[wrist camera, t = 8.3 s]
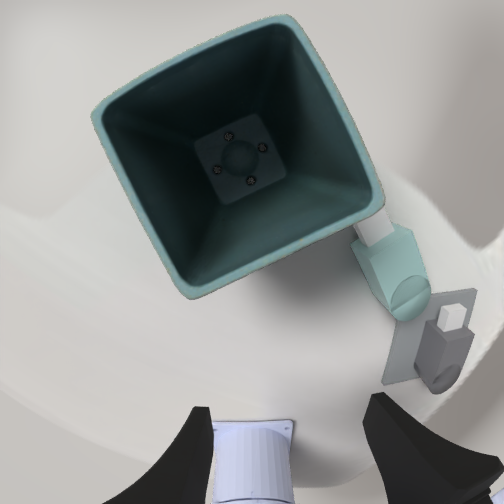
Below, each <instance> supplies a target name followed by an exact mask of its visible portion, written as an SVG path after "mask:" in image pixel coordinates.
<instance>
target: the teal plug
mask: <svg viewBox="0 0 504 504" xmlns="http://www.w3.org/2000/svg"><path fill="white" fill-rule="evenodd" d="M353 226H354V228H355V230H356V232H357V235H358V237H359V239H357V240H355V241H354V242H352V243H351V244H350V246H351V248H352V250H353V252H354V254H355V256H356V258H357V260H358V263H359V265H360V267H361V269H362V271H363V273H364V275H365V278H366V280H367V282H368V284H369V286H370V289H371V291H372V293H373V295H374V296H375V297H376V298H377V299H378V300H379V301H380V302H381V303H382V304H383V305H384V306H385V308H386V309H387V310H388V311H389V312H390V313H391V314H392V315H393V316H394V317H395V318H396V319H397V320H399V321H410V320H412V319H415V318H416V317H418V316H419V315H420V314H421V313H422V312H423V311H424V310H425V308H426V307H427V305H428V303H429V300H430V296H431V287H430V283H429V280H428V276H427V273H426V270H425V267H424V264H423V260H422V257H421V254H420V251H419V249H418V246H417V243H416V240H415V237H414V234H413V232H412V230H409V229H407V228H405V227H402V226H400V225H397V224H395V223H392V222H391V221H390V218H389V216H388V214H387V211H386V209H385V207H384V206H383V208H382V209H381V210H380V211H378V212H377V213H376V214H374V215H373V216H371V217H369V218H367V219H365V220H363V221H361V222H358V223H356V224H353Z"/></svg>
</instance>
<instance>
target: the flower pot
mask: <svg viewBox="0 0 504 504" xmlns="http://www.w3.org/2000/svg"><path fill="white" fill-rule="evenodd" d="M91 120H92V124H93V126H94V129H95V132H96V133H97V135H98V138H99V140H100V143H101V145H102V146H103V149H104V151H105V153H106V155H107V158H108V159H109V162H110V163H111V165H112V167H113V170H114V171H115V173H116V175H117V177H118V180H119V181H120V183H121V185H122V187H123V189H124V191H125V193H126V195H127V197H128V199H129V201H130V203H131V205H132V207H133V209H134V211H135V213H136V215H137V217H138V219H139V221H140V222H141V224H142V226H143V228H144V230H145V232H146V233H147V236H148V237H149V239H150V241H151V242H152V245H153V247H154V249H155V250H156V252H157V254H158V255H159V257H160V259H161V261H162V263H163V265H164V267H165V268H166V270H167V272H168V274H169V275H170V277H171V280H172V282H173V283H174V285H175V286H176V288H177V289H178V290H179V292H180V293H181V294H182V295H183V296H185V297H186V298H187V299H189V300H195V299H199V298H201V297H203V296H206V295H208V294H210V293H212V292H214V291H216V290H218V289H220V288H222V287H224V286H226V285H228V284H231V283H233V282H235V281H237V280H239V279H241V278H243V277H245V276H247V275H249V274H251V273H253V272H255V271H258V270H260V269H262V268H264V267H265V266H267V265H270V264H272V263H274V262H276V261H278V260H280V259H283V258H285V257H287V256H289V255H291V254H292V253H295V252H297V251H299V250H301V249H303V248H305V247H307V246H309V245H311V244H313V243H316V242H318V241H319V240H322V239H324V238H326V237H328V236H330V235H332V234H335V233H337V232H339V231H340V230H343V229H345V228H347V227H350V226H351V225H353V224H356V223H358V222H361V221H363V220H365V219H367V218H369V217H371V216H373V215H374V214H376V213H377V212H378V211H380V210H381V209H382V208H383V206H384V205H385V195H384V191H383V188H382V185H381V182H380V180H379V178H378V175H377V173H376V170H375V167H374V165H373V163H372V161H371V158H370V155H369V153H368V151H367V149H366V147H365V144H364V142H363V140H362V137H361V135H360V133H359V131H358V128H357V126H356V124H355V122H354V120H353V118H352V116H351V114H350V112H349V110H348V108H347V106H346V104H345V102H344V100H343V98H342V96H341V94H340V92H339V90H338V88H337V86H336V84H335V83H334V81H333V79H332V77H331V76H330V73H329V72H328V70H327V68H326V66H325V64H324V62H323V61H322V59H321V58H320V56H319V54H318V53H317V51H316V49H315V48H314V46H313V45H312V43H311V41H310V40H309V38H308V36H307V35H306V33H305V32H304V30H303V28H302V27H301V26H300V24H299V23H298V22H297V21H296V20H295V19H294V18H293V17H292V16H290V15H288V14H280V15H274V16H269V17H265V18H263V19H259V20H257V21H254V22H251V23H249V24H246V25H243V26H240V27H238V28H235V29H233V30H231V31H228V32H226V33H223V34H221V35H219V36H216V37H215V38H212V39H209V40H208V41H206V42H203V43H201V44H198V45H196V46H194V47H193V48H190V49H188V50H186V51H185V52H183V53H181V54H178V55H176V56H174V57H173V58H171V59H169V60H166V61H164V62H163V63H161V64H159V65H158V66H156V67H154V68H152V69H150V70H149V71H147V72H145V73H143V74H141V75H140V76H139V77H137V78H135V79H134V80H132V81H130V82H129V83H127V84H126V85H124V86H122V87H121V88H119V89H117V90H116V91H115V92H113V93H112V94H111V95H109V96H107V97H106V98H104V99H103V100H102V101H101V102H100V103H99V104H98V105H97V106H96V107H95V108H94V110H93V111H92V112H91ZM227 133H231V134H232V135H233V138H232V140H230V141H227V140H226V139H225V137H224V136H225V134H227ZM260 144H264V145H265V146H266V150H265V151H263V152H261V151H259V149H258V146H259V145H260ZM215 166H220V167H221V172H220V173H219V174H216V173H215V172H214V170H213V169H214V167H215ZM248 177H253V178H254V179H255V182H254V183H253V184H251V185H250V184H248V183H247V179H248Z"/></svg>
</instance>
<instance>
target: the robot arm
mask: <svg viewBox="0 0 504 504" xmlns="http://www.w3.org/2000/svg"><path fill="white" fill-rule="evenodd" d="M363 426H364V431H365V434H366V438H367V441H368V444H369V446H370V449H371V451H372V454H373V456H374V459H375V461H376V463H377V466H378V468H379V471H380V473H381V476H382V479H383V482H384V486H385V490H386V494H387V498H388V504H504V488H503V489H501V490H500V491H499V492H497V493H496V494H495V495H493V496H492V497H491V498H490V496H489V495H488V494H490V493H491V490H490V488H489V487H490V486H491V485H492V484H493V483H494V482H495V481H496V480H497V479H498V478H499V477H500V475H501V474H502V473H503V472H504V466H503V464H502V462H501V461H500V459H499V458H498V457H497V456H492V455H487V454H482V453H478V452H475V451H472V450H469V449H466V448H463V447H461V446H459V445H456V444H454V443H452V442H450V441H448V440H446V439H444V438H442V437H440V436H439V435H437V434H435V433H434V432H432V431H430V430H429V429H428V428H426V427H425V426H423V425H422V424H421V423H419V422H418V421H417V420H416V419H414V418H413V417H412V416H411V415H409V414H408V413H407V412H406V411H405V410H403V409H402V408H401V407H400V406H399V405H398V404H397V403H395V402H394V401H393V400H392V399H391V398H390V397H389V396H388V395H386V394H385V393H384V392H381V393H376V394H372V395H371V398H370V402H369V405H368V408H367V411H366V414H365V417H364V420H363ZM292 429H293V422H292V421H291V420H280V421H261V422H212V421H211V416H210V410H209V407H198V406H195V407H193V409H192V411H191V413H190V415H189V417H188V418H187V420H186V422H185V424H184V425H183V427H182V429H181V430H180V432H179V433H178V435H177V436H176V438H175V439H174V441H173V442H172V443H171V445H170V446H169V447H168V449H167V450H166V451H165V453H164V454H163V455H162V456H161V457H160V459H159V460H158V461H157V462H156V463H155V464H154V465H153V466H152V467H151V468H150V469H149V470H148V471H147V472H146V473H145V474H144V475H143V476H142V477H141V478H140V479H138V480H137V481H136V482H135V483H134V484H132V485H131V486H130V487H128V488H127V489H125V490H124V491H123V492H121V493H120V494H118V495H117V496H115V497H114V498H112V499H110V500H108V501H106V502H104V503H103V504H205V497H206V490H207V484H208V479H209V474H210V469H211V463H212V457H213V447H214V449H215V453H216V466H215V477H214V488H213V500H212V503H210V504H295V502H294V494H293V486H292V479H291V471H290V463H289V454H290V446H291V438H292Z"/></svg>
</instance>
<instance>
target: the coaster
mask: <svg viewBox="0 0 504 504" xmlns="http://www.w3.org/2000/svg"><path fill="white" fill-rule="evenodd" d="M476 294H477V290H476V289H475V288H471V289H465V290H458V291H451V292H443V293H436V294H431V296H430V300H429V303H428V305H427V307H426V308H425V310H424V311H423V312H422V313H421V314H420V315H419V316H418V317H416V318H415V319H412V320H410V321H399V320H397V323H396V327H395V332H394V336H393V340H392V345H391V349H390V353H389V357H388V360H387V364H386V368H385V371H384V375H383V378H382V384H383V385H389V384H394V383H398V382H403V381H407V380H411V379H415V378H419V377H420V376H419V375H418V373H417V372H416V371H415V369H414V361H415V358H416V355H417V351H418V348H419V345H420V341H421V338H422V334H423V330H424V326H425V322H426V321H428V320H433V319H438V318H439V314H440V310H441V306H446V305H452V304H457V303H460V304H461V305H462V306H464V307H465V308H466V309H467V311H466V314H465V318H464V321H463V325H465V326H466V327H468V324H469V321H470V317H471V314H472V310H473V306H474V303H475V299H476Z"/></svg>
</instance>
